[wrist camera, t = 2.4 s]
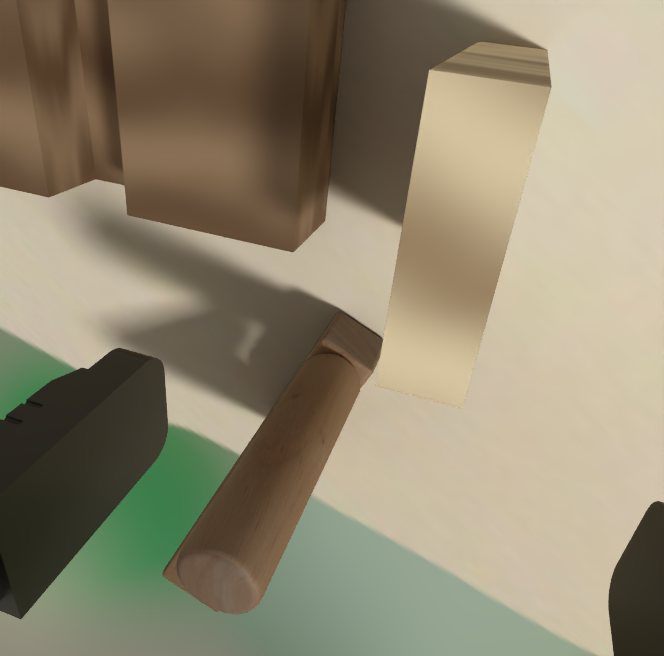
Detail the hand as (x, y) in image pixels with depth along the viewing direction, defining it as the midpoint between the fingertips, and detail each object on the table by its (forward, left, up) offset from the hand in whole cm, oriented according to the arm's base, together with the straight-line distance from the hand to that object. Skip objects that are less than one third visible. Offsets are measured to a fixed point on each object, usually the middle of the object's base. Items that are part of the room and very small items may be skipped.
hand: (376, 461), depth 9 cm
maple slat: (0, 0, -23) cm, 23 cm away
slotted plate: (-2, -20, -23) cm, 30 cm away
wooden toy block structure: (+16, -7, -23) cm, 29 cm away
